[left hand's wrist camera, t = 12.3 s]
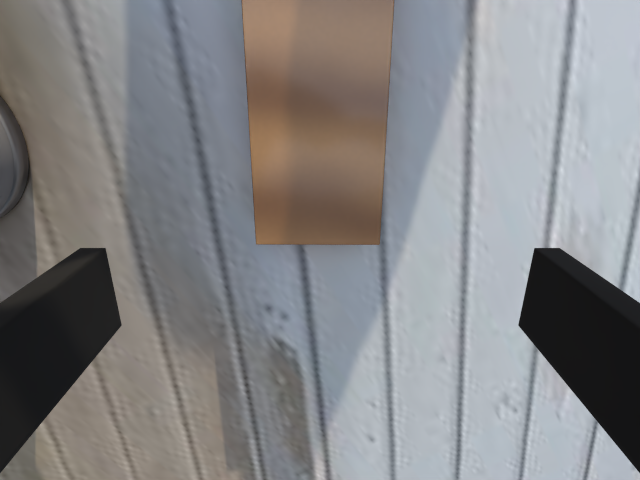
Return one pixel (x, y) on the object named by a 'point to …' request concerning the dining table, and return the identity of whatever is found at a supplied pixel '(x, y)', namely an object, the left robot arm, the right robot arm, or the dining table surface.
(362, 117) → the wooden beam
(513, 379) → the dining table surface
